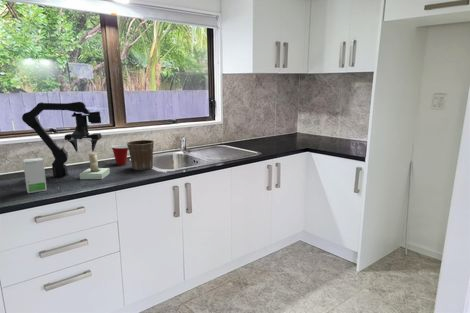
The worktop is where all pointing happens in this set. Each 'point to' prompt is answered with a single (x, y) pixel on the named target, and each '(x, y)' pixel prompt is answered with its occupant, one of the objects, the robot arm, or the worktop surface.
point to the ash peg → (93, 162)
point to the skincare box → (34, 175)
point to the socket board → (94, 174)
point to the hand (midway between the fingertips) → (84, 151)
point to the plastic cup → (120, 154)
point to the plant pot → (141, 154)
